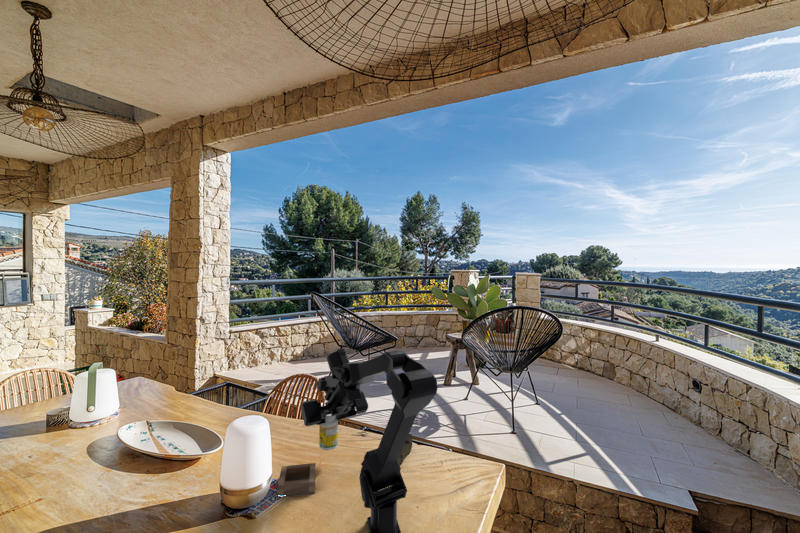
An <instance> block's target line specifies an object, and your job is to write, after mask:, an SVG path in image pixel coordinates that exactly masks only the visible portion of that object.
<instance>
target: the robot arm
mask: <svg viewBox="0 0 800 533" xmlns="http://www.w3.org/2000/svg"><path fill="white" fill-rule="evenodd" d="M347 354H348V353H347V351H346V350H345V348H337V350H336V351H334V352H332V353H330V354H329V355H327V357H326V361H327V364H328V368H329V371H330V374H331V375H325V376H322V377H320V378H318V379H317V382H316V388H317V390H318V391H319V392H324V394H325V395H324V399H325V403H324V404H325V405H323V406H322V404H321V402H318V399H316V398H315V399H309V400H305V401H303V402H302V403H301V405H300V411H301V415H302V420H303V423H304V426H305V427H311V426H315V425H316V426H320V425H321V424H323V423H326V421H325V417H326V415H330V414H331V415H332V416H336V419H337V420H338V421H342V420H345V419H348V418H352V417H355V416H357V415H361V414H365V413H367V411H368V408H369V403H368V400H367V398H366V395H365V392H364V391H363V390H361V386H360V385H366V384H369V383H370V382H372V381H373V380H374V379H375V377H376V376H379V375H382V374H385V375H386V378H385V379H386V385H387V386H388V388H389V389H390V390H391V393H390V394H391V397H392V399H393V402H394V406H393V408H392V411H391V413H390V416H389V418H388V421H387V424H386V426H385V428H384V432H383V435H382V436H381V439H380V442H379V444H378V447H377V448H375V449H371V450H369V451H366V452H365V454H364V456H363V460H362V462H361V463H360V465H361V468H360V472H359V473H360V474H359V478H358V479H359V486H360V492H361V499H362V502H363V507H364V508H367V509H370V516H368V517H367V519H366V520H367V527H368V531H369V533H402V531H401V528H400V525H399V522H398V516H397V513H398V512H397V511H398V509H397V508H398V500H401V499H405V498H406V496H407V494H408V493H407V492H408V490H407V487H406V486H407V485H406V483H405V481H404V479H403V478H404V477H403V475H402V473H401V470H402V467H401V464H400V465H399V462H398V458H399V456H400V454H401V451H402V449H403V447H404V444H405V442H406V439H407V437H408V435H409V434H410V432H411V430H412V427H413V425H414V423H415V421H416V418H417V416H418V414H419V413H420V412H421V411H422V410H424V409H425V408H426V407H427V406H428V405H430V404H431V402H432V401H433V399H434V397H435V396H436V394H437V392H438V382H437V378H436V377H435V375H434V374H433V372H432V371H431V370H429V369H428V367H427V366H426V365H425V364H424V363H422V362H420V361H418V360H417V359H414V358H412V357H410V356H409V355H408V354H407V353H406V351H403V350H401V349H399V350H391V351H384V352H383V353H382V354H380V355H377V356H375V357H373V358H370V359H367V360H360V361H359V360H358V361H353V362H350V359H349V356H348V355H347ZM397 370H402V371H403V372H400V373H396V371H397Z"/></svg>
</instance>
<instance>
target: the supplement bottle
mask: <svg viewBox="0 0 800 533" xmlns="http://www.w3.org/2000/svg"><path fill="white" fill-rule="evenodd" d="M325 421H326V423H323V424H321V425H319V435H318V436H319V440H318V441H319V442H318V444H319V446H318V447H319V448H320V449H321V450H323V451H332V450H334V449H337V448H338V445H339V420H337V419H336V416H332V415H331V414H330V415H326V417H325Z"/></svg>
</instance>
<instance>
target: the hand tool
mask: <svg viewBox="0 0 800 533" xmlns="http://www.w3.org/2000/svg"><path fill="white" fill-rule="evenodd" d="M412 449H413V434H412V433H409V435H408V437H407V439H406V442H405V444H404V447H403V449H402V451H401V454H400V456H399V458H398V462H399V465H400V466H401V464H402V462H403V461H404V460H405V458H406V457H407V456H408V455H409V454H410V453H411V452H412Z"/></svg>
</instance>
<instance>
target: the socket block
mask: <svg viewBox="0 0 800 533" xmlns="http://www.w3.org/2000/svg"><path fill="white" fill-rule="evenodd" d="M279 473H280V474H279V478H278V483H277V496H278V495H286V496H287V497H289V498H290V497H296V496H297V497H298V496H305V495H313V494H315V493H316V462H314V463H313V462H312V463H302V464H301V463H300V464H293V465H292V464H291V465H282V466H281V469H280V472H279ZM277 496H276V497H277ZM287 497H286V498H287Z"/></svg>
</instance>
